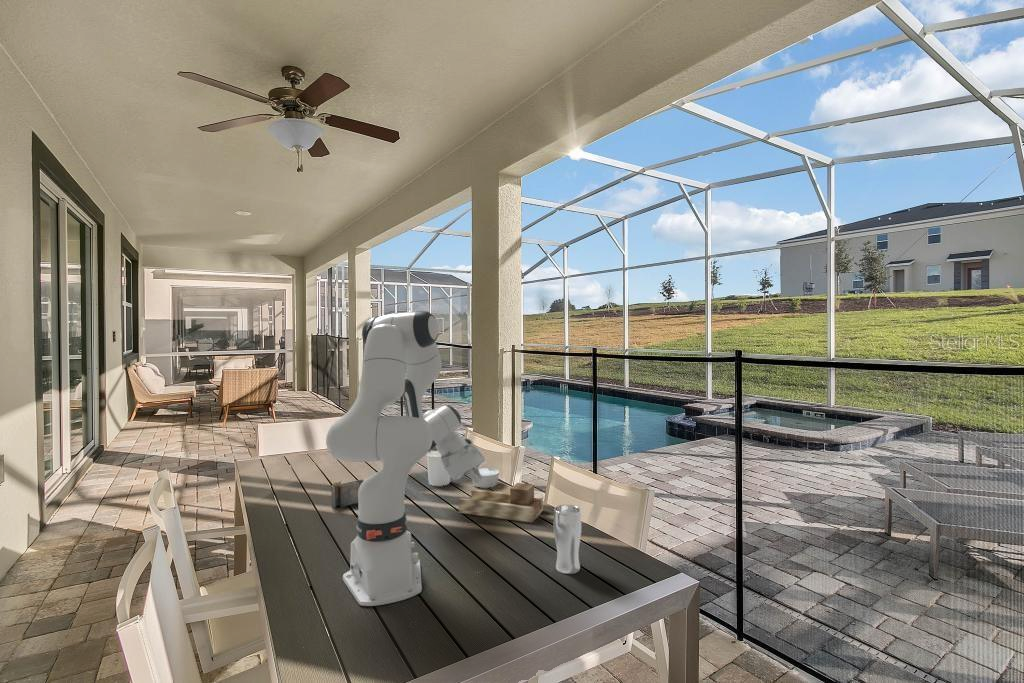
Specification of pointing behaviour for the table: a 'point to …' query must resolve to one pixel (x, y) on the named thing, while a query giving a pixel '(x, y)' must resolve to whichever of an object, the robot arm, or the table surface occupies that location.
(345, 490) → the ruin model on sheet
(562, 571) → the beer glass
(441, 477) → the candle holder
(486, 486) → the ramekin
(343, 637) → the table surface
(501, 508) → the pine chute
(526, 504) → the walnut block
